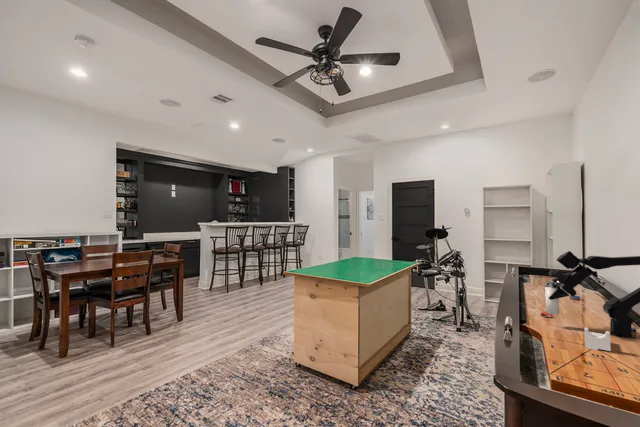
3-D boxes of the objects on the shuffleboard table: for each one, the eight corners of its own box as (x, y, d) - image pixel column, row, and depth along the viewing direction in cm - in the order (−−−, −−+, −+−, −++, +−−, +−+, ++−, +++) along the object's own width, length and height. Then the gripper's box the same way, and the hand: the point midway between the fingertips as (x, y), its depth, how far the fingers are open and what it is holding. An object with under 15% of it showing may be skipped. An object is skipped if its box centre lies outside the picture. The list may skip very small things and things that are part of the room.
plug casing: (562, 314, 137) (560, 284, 138) (550, 314, 138) (549, 284, 138) (554, 311, 142) (553, 282, 143) (543, 311, 143) (542, 282, 143)
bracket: (610, 353, 110) (609, 333, 110) (585, 348, 115) (584, 329, 115) (609, 343, 120) (608, 325, 120) (585, 339, 124) (584, 321, 125)
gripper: (556, 261, 148) (530, 281, 152) (565, 265, 131) (536, 288, 136) (577, 278, 143) (550, 298, 148) (589, 284, 127) (558, 307, 132)
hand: (548, 297), depth 141 cm, fingers closed on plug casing, 5 cm apart
